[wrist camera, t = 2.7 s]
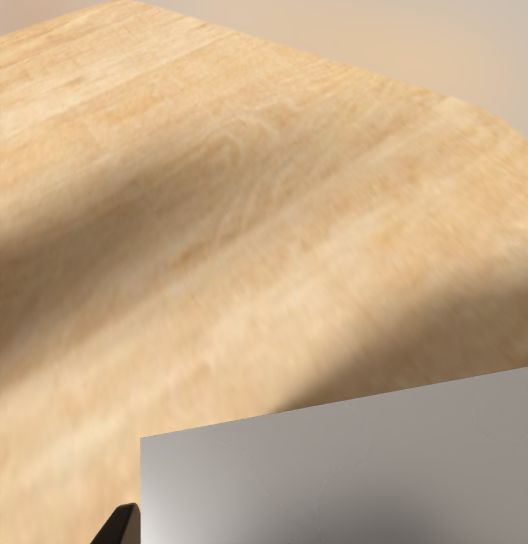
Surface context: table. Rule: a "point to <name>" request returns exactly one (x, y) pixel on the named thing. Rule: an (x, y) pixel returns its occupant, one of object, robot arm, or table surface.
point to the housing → (350, 471)
